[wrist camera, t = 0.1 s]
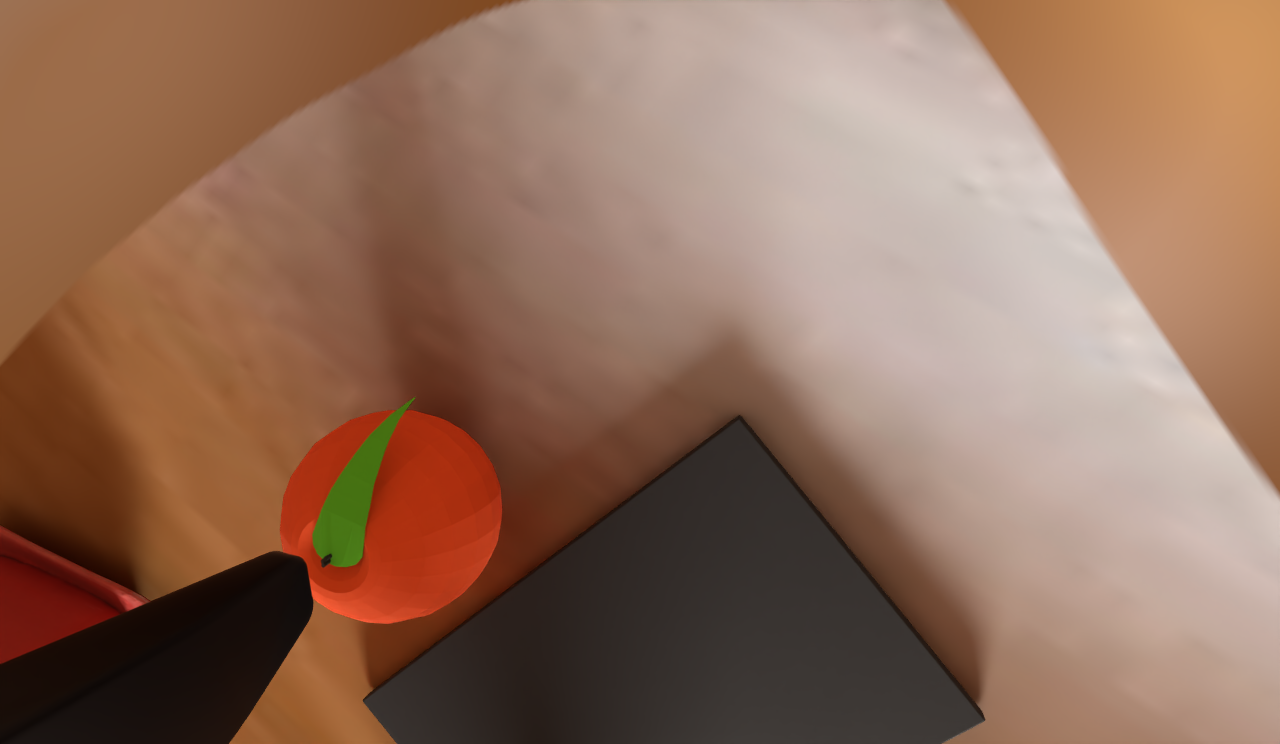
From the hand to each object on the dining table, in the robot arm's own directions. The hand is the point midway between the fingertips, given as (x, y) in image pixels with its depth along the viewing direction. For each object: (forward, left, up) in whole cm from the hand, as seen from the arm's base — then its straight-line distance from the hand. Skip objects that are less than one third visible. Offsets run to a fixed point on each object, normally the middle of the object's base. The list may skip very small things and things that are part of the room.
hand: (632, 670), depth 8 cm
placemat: (-10, -7, -15) cm, 20 cm away
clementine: (-10, +4, -16) cm, 19 cm away
